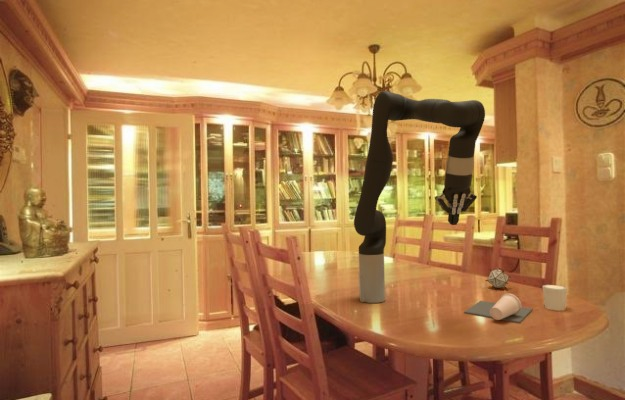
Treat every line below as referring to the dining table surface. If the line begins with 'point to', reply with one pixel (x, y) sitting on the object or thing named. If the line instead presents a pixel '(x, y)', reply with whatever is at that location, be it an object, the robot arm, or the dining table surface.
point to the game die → (498, 278)
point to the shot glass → (555, 297)
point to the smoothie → (506, 307)
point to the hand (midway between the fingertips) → (452, 224)
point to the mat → (484, 310)
